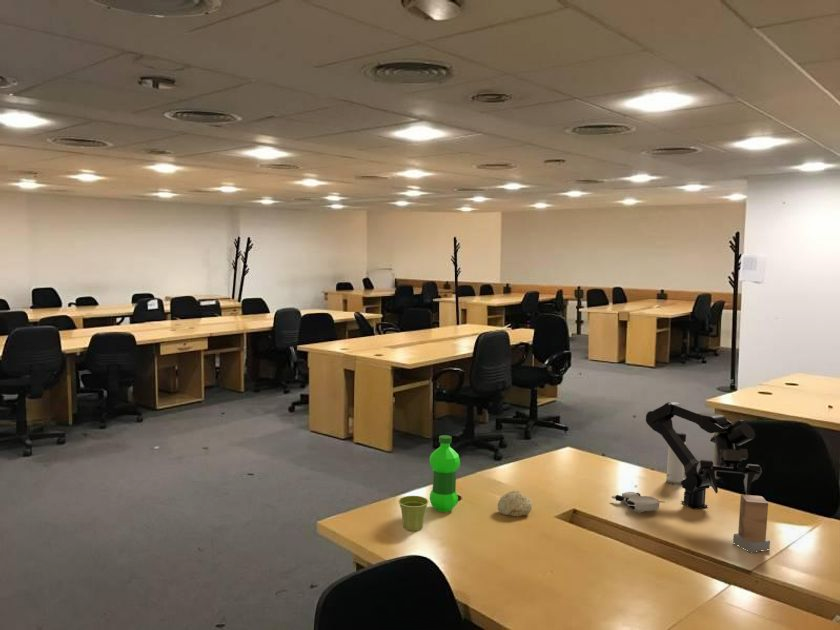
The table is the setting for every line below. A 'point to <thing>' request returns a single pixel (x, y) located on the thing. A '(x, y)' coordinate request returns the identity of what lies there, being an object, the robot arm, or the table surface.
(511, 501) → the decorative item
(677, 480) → the travel mug
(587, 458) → the table surface
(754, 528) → the walnut block
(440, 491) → the plastic bottle
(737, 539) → the base slab
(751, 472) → the robot arm
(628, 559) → the table surface
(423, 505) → the plant pot
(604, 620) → the table surface
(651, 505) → the robot toy
